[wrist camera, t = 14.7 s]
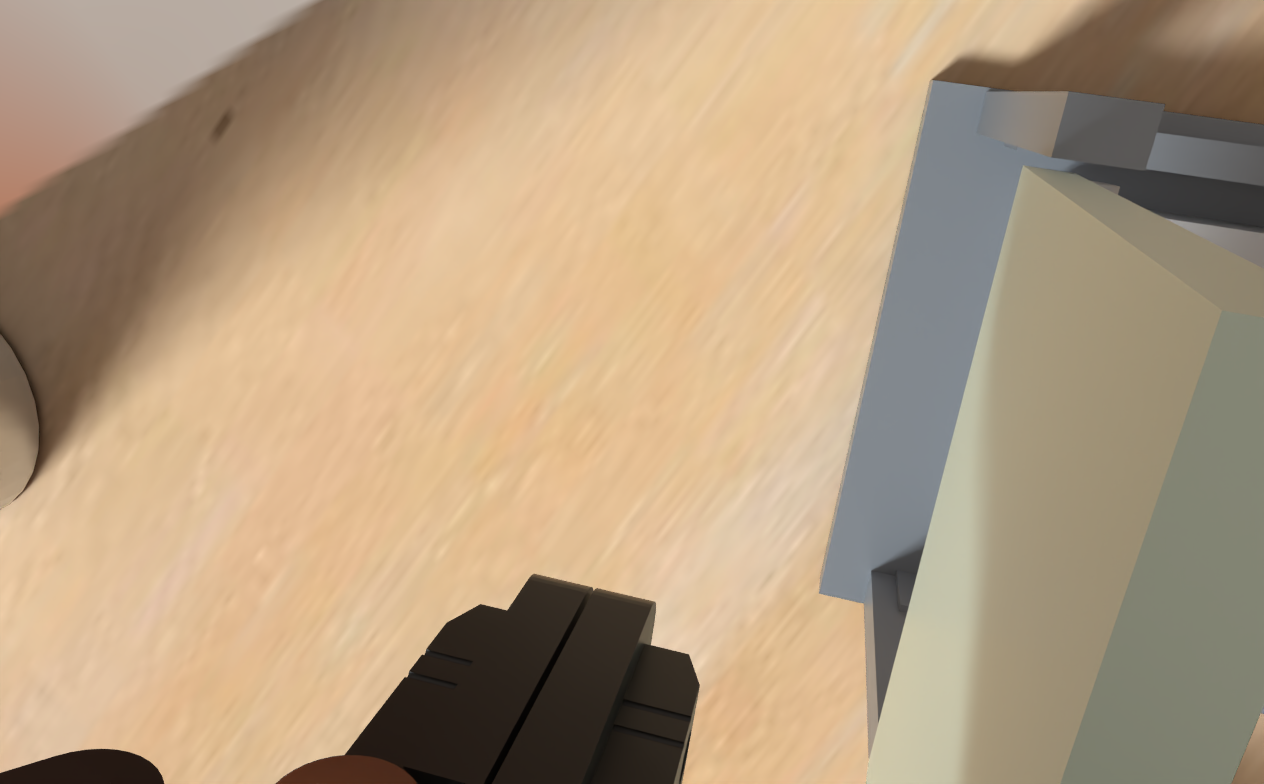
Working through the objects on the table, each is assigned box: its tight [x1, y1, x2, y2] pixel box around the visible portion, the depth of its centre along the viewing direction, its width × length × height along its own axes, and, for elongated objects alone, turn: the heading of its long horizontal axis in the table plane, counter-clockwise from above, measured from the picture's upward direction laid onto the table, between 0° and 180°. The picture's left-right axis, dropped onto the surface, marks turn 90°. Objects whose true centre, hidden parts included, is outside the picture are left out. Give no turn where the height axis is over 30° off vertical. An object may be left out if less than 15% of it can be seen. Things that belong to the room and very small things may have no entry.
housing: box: [819, 80, 1264, 758], centre depth 21 cm, size 14×15×10 cm
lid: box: [866, 165, 1264, 784], centre depth 12 cm, size 12×12×2 cm
